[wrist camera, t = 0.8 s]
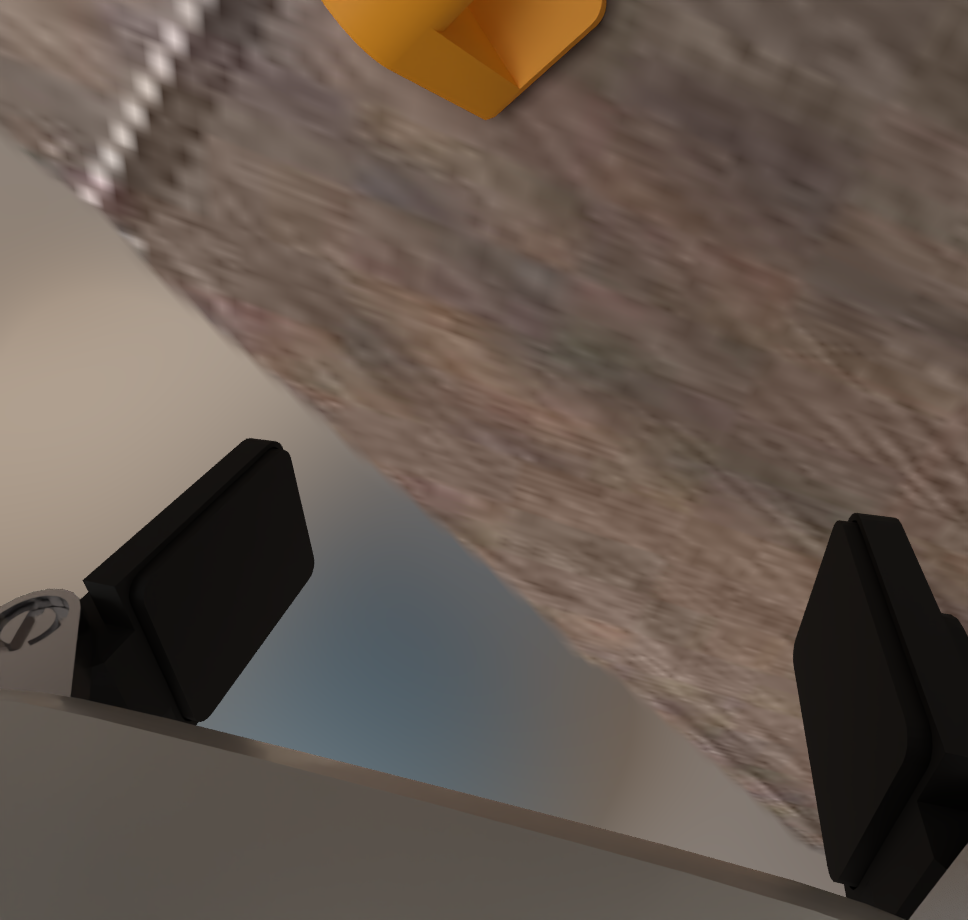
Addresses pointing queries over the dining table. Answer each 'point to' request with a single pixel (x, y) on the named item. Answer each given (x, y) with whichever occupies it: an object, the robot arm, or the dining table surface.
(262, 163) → the dining table surface
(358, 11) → the bracket
